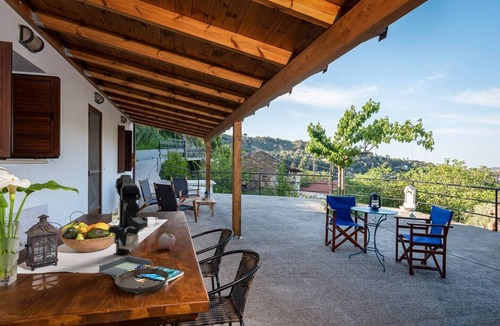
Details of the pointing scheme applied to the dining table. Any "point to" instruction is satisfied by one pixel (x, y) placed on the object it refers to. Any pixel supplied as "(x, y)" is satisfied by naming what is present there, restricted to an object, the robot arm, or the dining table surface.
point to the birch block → (130, 242)
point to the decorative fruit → (167, 240)
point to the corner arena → (122, 265)
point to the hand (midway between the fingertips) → (128, 244)
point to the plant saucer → (130, 284)
